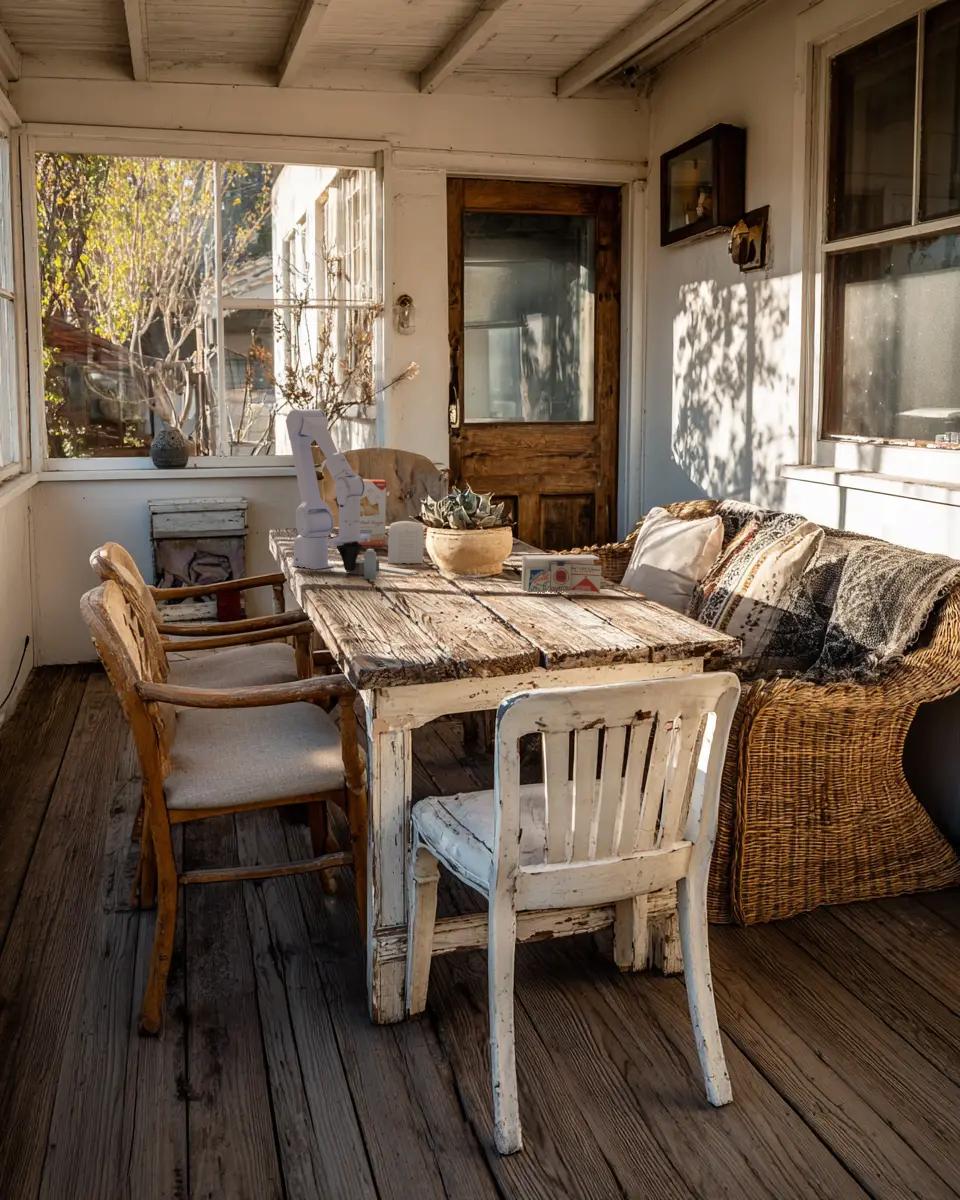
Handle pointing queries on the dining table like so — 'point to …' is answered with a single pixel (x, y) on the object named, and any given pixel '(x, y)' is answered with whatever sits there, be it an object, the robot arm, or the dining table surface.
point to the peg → (370, 564)
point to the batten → (396, 570)
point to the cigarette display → (560, 574)
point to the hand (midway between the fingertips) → (349, 570)
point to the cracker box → (373, 512)
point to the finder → (362, 566)
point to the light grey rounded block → (405, 542)
